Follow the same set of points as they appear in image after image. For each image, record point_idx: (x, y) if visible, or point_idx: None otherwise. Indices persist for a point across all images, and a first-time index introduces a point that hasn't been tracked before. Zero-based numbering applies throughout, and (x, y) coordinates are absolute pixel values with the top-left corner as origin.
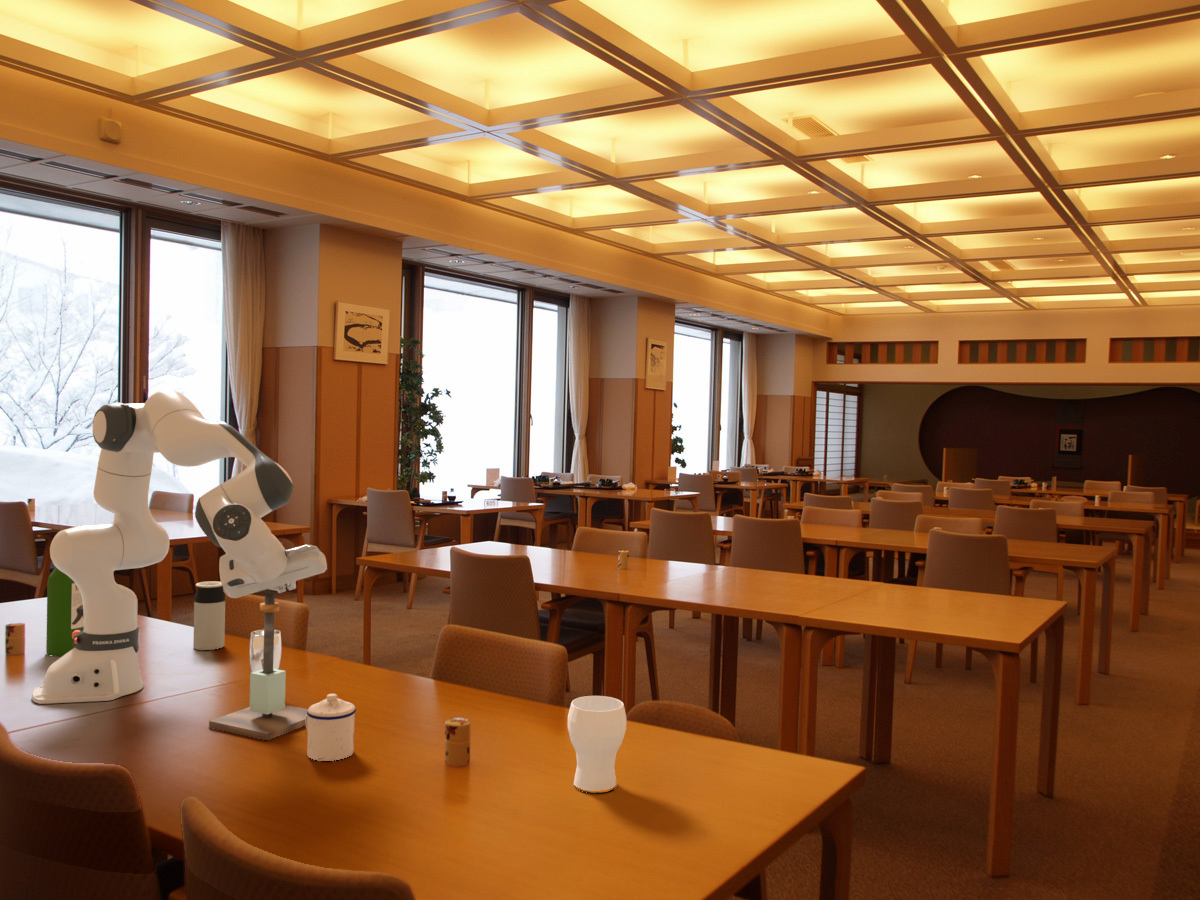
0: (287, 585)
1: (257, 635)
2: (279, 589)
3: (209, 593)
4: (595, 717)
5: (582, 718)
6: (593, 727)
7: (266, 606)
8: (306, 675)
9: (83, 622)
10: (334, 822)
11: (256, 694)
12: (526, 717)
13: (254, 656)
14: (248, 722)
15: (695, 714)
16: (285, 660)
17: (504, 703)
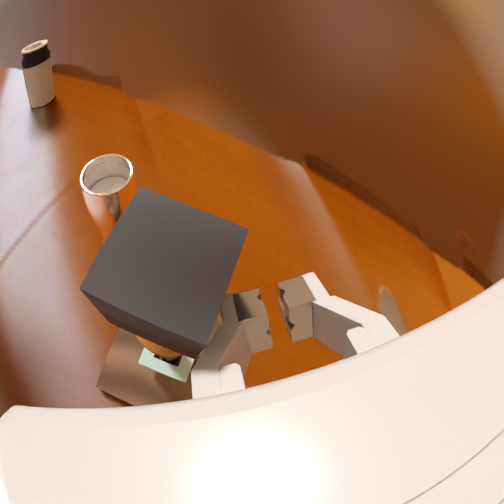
0: (296, 332)
1: (94, 194)
2: (251, 352)
3: (33, 57)
4: None
5: None
6: None
7: (171, 354)
8: (151, 154)
9: None
10: None
11: (158, 372)
12: (422, 277)
13: (97, 219)
14: (156, 389)
15: (476, 253)
16: (116, 115)
17: (394, 239)
